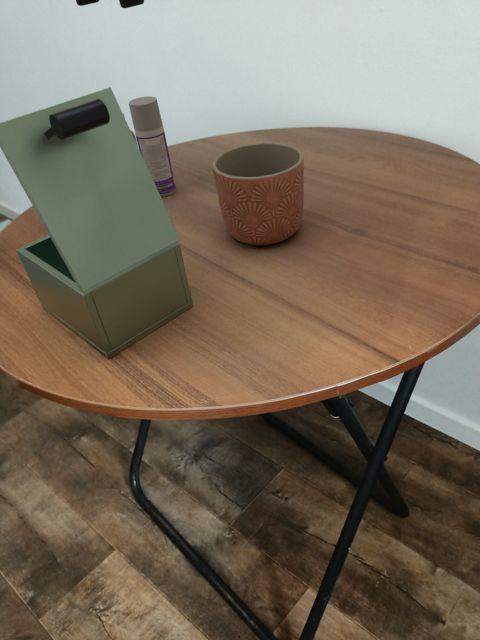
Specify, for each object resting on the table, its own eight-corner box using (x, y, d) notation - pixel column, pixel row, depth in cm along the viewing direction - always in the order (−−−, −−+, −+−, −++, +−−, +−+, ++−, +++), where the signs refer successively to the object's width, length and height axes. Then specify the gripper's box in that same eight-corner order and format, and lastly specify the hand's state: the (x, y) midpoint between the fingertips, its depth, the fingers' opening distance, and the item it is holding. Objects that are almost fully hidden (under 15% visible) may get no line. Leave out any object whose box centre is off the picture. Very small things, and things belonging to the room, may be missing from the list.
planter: (293, 257, 71) (288, 180, 64) (210, 249, 75) (197, 175, 68) (315, 214, 80) (313, 143, 73) (240, 209, 83) (231, 140, 76)
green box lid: (-12, 127, 46) (2, 109, 42) (107, 89, 53) (130, 70, 48) (80, 292, 53) (101, 291, 48) (177, 240, 59) (203, 236, 55)
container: (155, 185, 94) (134, 96, 84) (179, 185, 93) (161, 95, 83) (145, 197, 90) (122, 106, 80) (171, 197, 89) (151, 105, 79)
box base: (43, 308, 67) (15, 249, 62) (123, 265, 74) (105, 208, 68) (108, 359, 58) (83, 295, 53) (193, 306, 65) (179, 243, 59)
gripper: (141, -205, 51) (176, 1, 63) (52, -176, 61) (97, -2, 72) (76, -206, 48) (126, 13, 59) (-8, -175, 57) (49, 8, 69)
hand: (110, 4), depth 66 cm, fingers open, 9 cm apart
